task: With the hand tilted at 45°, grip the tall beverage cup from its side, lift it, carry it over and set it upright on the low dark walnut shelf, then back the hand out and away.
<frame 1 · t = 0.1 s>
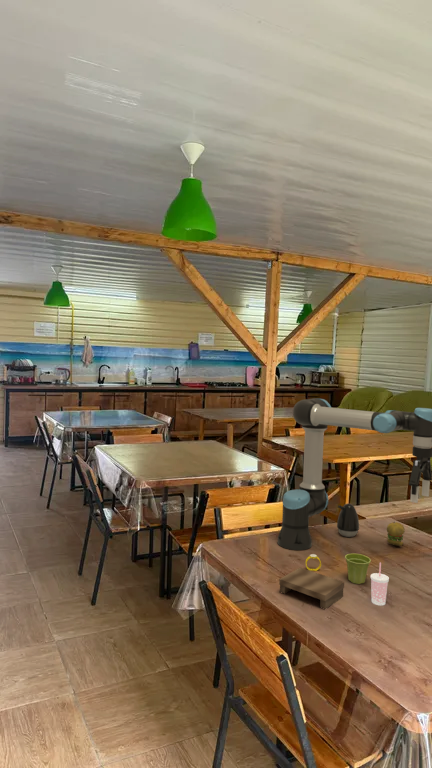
hand: (419, 499, 207), 28 cm above the table, tool pointing down, fingers open, 13 cm apart
plant pot: (356, 581, 194), on the table
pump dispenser: (347, 535, 244), on the table
hamburger: (394, 546, 231), on the table
watch: (312, 570, 203), on the table
walnut shelf: (311, 594, 182), on the table
beverage cup: (378, 602, 177), on the table
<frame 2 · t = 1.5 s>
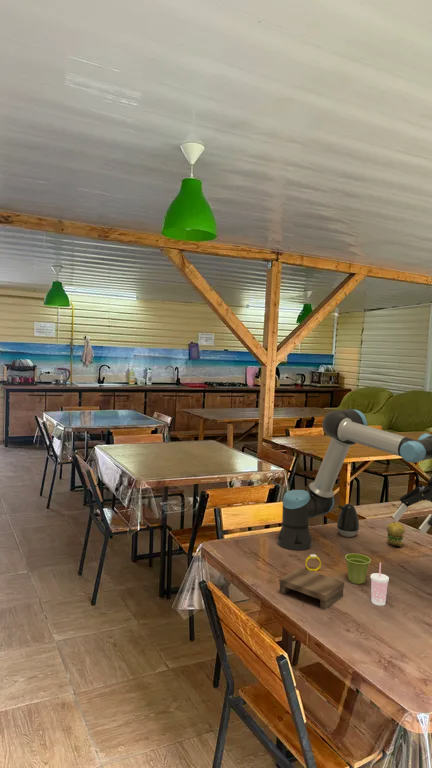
hand: (407, 525, 180), 26 cm above the table, tool tilted 45°, fingers open, 13 cm apart
nothing on the table moved.
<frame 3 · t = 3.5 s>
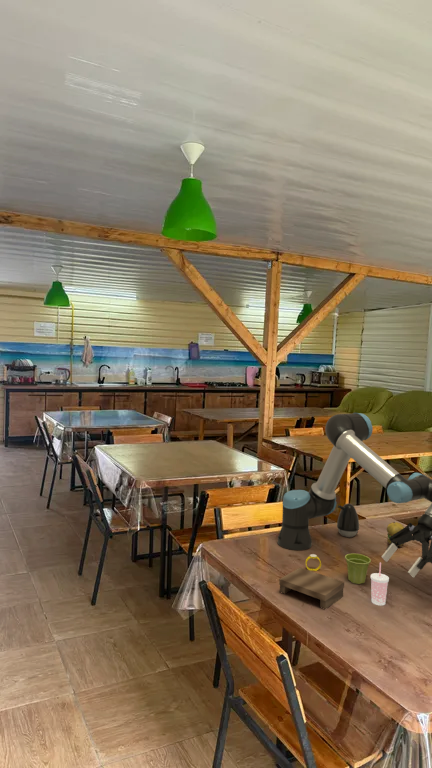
hand: (396, 566, 178), 12 cm above the table, tool tilted 45°, fingers open, 13 cm apart
nothing on the table moved.
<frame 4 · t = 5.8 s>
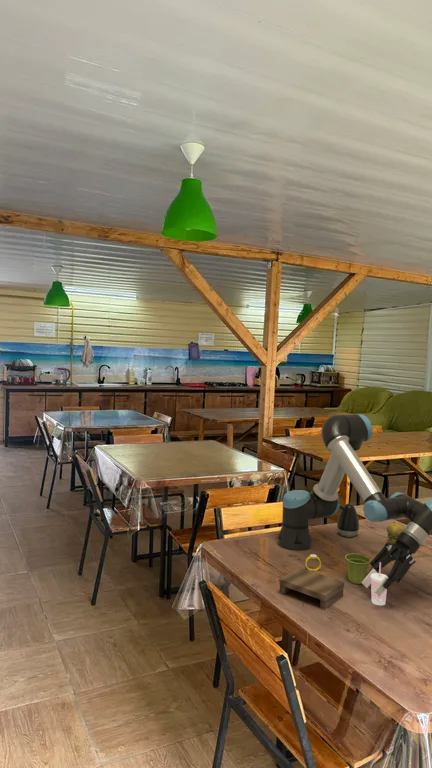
hand: (370, 589, 176), 5 cm above the table, tool tilted 45°, fingers closed on beverage cup, 6 cm apart
beverage cup: (378, 602, 177), on the table, touching gripper
everything else where it was.
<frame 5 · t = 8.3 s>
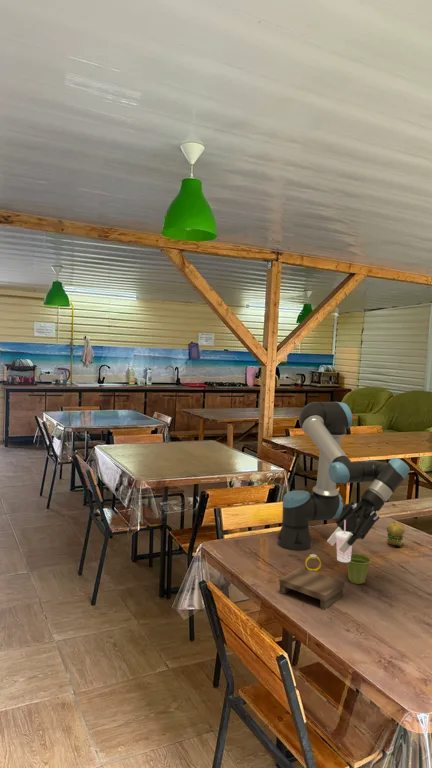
hand: (335, 547, 176), 19 cm above the table, tool tilted 45°, fingers closed on beverage cup, 6 cm apart
beverage cup: (343, 560, 178), point 14 cm above the table, touching gripper
everything else where it was.
when the fingers open (11 cm above the table, at t = 11.0 s): beverage cup drops 1 cm, resting on walnut shelf.
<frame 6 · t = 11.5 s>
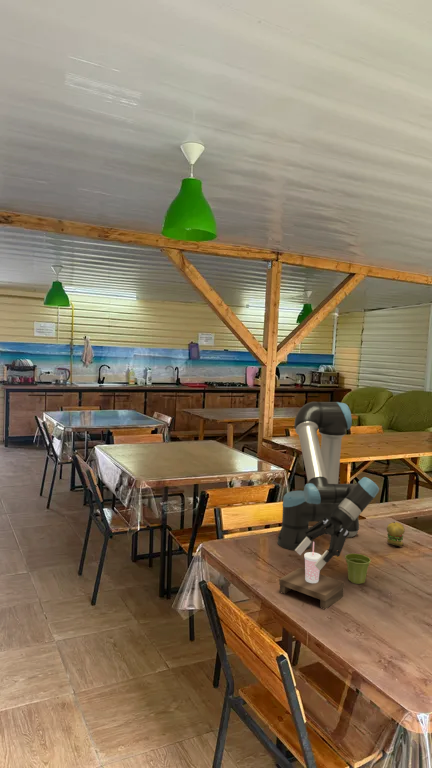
hand: (306, 560, 180), 13 cm above the table, tool tilted 45°, fingers open, 13 cm apart
beverage cup: (311, 580, 182), point 5 cm above the table, touching walnut shelf
everything else where it was.
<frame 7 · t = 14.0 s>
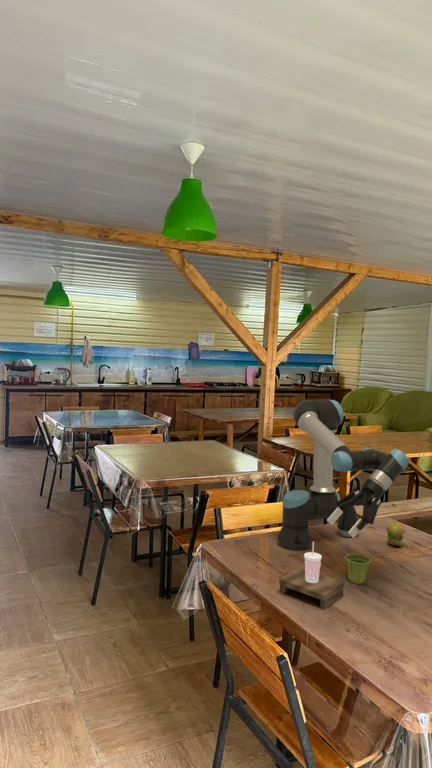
hand: (339, 528, 184), 23 cm above the table, tool tilted 45°, fingers open, 13 cm apart
nothing on the table moved.
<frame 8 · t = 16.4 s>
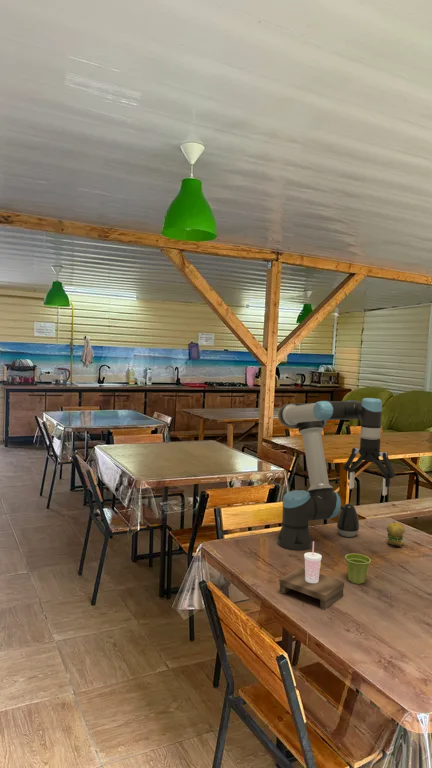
hand: (367, 491, 202), 32 cm above the table, tool pointing down, fingers open, 13 cm apart
nothing on the table moved.
at the end: beverage cup inside the target area (0.1 cm from its centre), point 4.8 cm above the table; beverage cup tilted 0° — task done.
